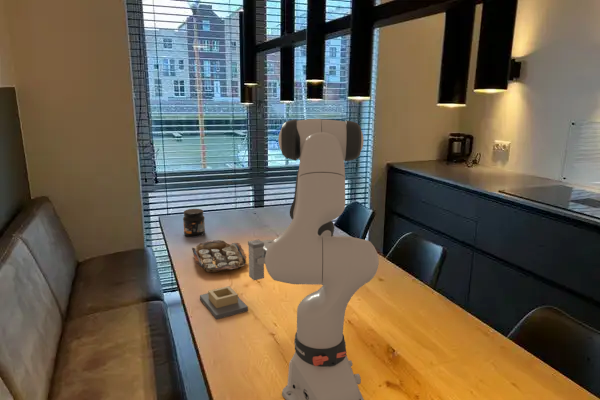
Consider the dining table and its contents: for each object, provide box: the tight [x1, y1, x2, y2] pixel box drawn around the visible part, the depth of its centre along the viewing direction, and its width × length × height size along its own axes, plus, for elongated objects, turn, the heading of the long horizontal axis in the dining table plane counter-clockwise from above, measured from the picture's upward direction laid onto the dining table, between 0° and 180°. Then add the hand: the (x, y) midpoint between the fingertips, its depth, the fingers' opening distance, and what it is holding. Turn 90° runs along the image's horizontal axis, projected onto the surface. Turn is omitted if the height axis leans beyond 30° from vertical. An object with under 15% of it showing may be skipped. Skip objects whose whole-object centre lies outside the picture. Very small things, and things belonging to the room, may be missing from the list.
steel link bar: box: [247, 239, 265, 281], centre depth 139 cm, size 4×4×12 cm
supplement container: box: [182, 208, 206, 238], centre depth 218 cm, size 10×10×12 cm
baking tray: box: [191, 239, 248, 274], centre depth 183 cm, size 30×22×5 cm
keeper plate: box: [199, 285, 249, 320], centre depth 147 cm, size 16×11×4 cm
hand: (253, 258), depth 138 cm, fingers closed on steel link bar, 4 cm apart
